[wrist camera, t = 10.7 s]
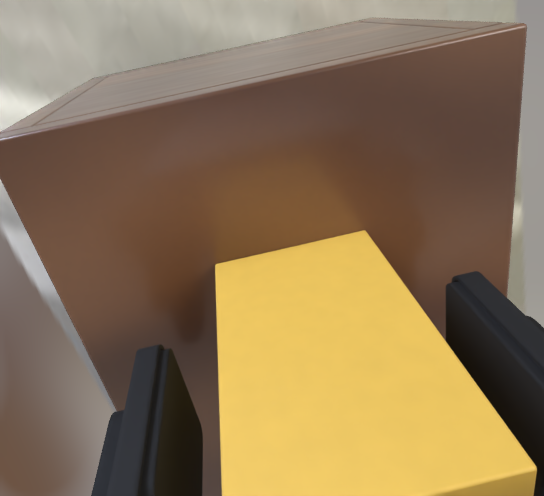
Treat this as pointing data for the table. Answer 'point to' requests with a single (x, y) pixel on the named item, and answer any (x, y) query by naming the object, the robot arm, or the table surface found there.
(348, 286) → the chalk box
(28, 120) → the cabinet
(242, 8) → the table surface
